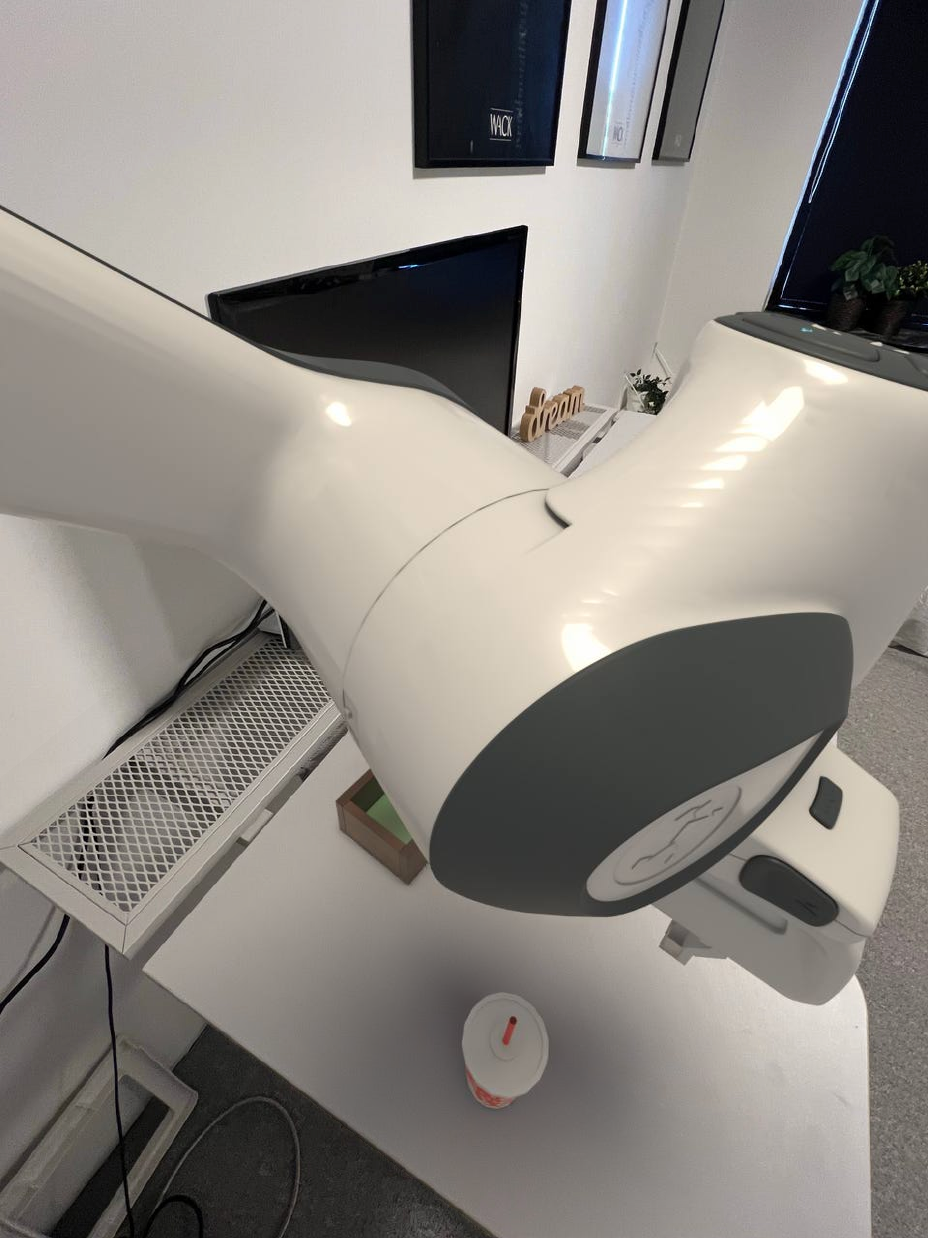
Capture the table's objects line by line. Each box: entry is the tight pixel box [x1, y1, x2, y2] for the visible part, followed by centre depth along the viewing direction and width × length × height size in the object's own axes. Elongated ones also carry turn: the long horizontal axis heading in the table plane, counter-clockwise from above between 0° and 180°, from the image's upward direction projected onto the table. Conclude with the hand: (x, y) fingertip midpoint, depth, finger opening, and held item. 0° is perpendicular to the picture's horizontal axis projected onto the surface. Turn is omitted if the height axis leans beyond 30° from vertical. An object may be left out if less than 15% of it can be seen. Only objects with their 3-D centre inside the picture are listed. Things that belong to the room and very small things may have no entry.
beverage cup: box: [461, 991, 550, 1110], centre depth 43 cm, size 6×6×14 cm
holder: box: [335, 768, 428, 886], centre depth 64 cm, size 10×18×6 cm, turn 143°
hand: (598, 890), depth 34 cm, fingers open, 8 cm apart
